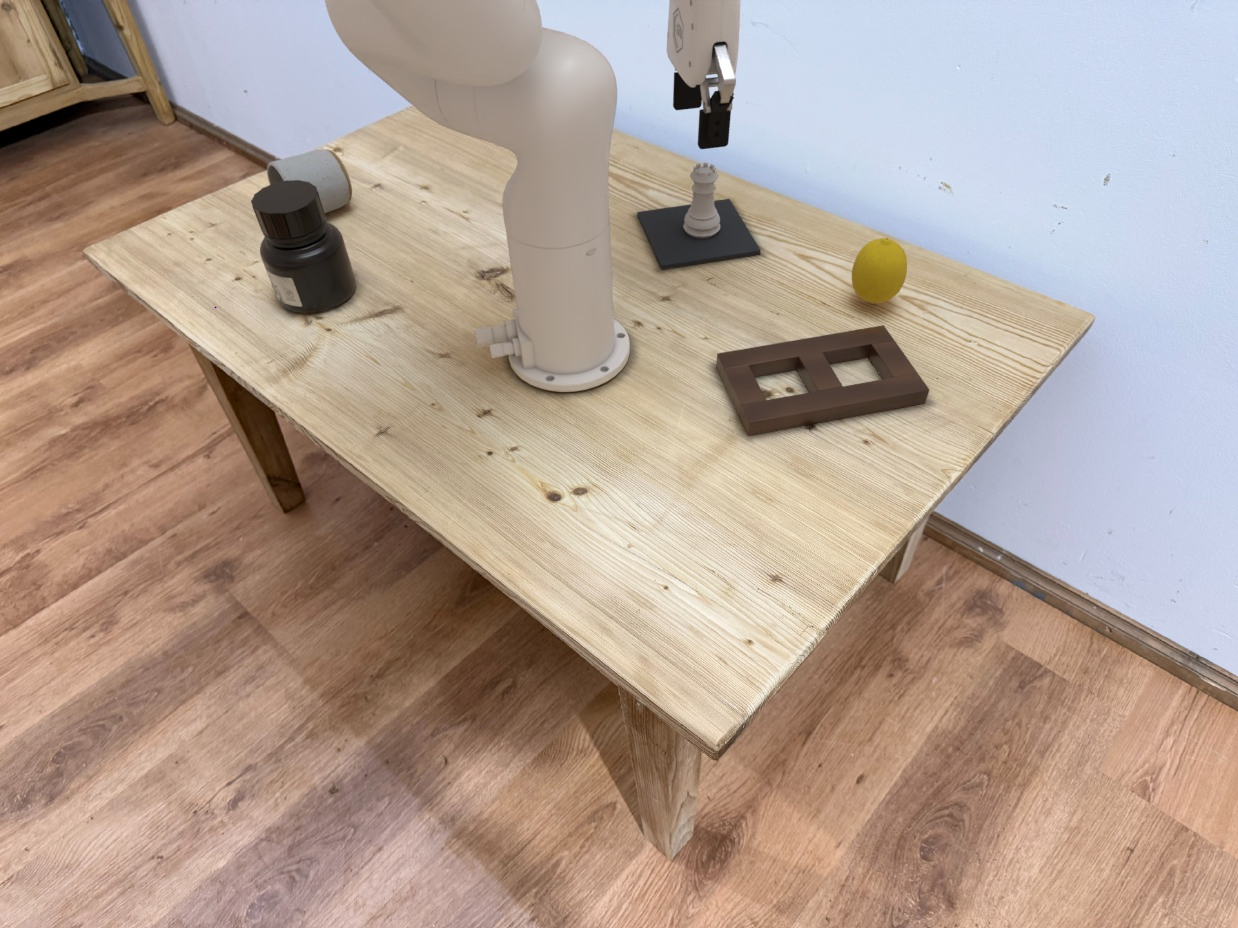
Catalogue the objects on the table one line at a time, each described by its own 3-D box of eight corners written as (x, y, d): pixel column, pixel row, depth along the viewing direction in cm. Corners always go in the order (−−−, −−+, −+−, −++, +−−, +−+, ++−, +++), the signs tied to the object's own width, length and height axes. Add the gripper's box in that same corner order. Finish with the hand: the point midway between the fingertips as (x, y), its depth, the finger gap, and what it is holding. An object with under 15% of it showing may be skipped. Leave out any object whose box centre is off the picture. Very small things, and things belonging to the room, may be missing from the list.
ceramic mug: (362, 210, 109) (346, 153, 103) (304, 234, 105) (283, 176, 100) (323, 181, 114) (306, 126, 109) (267, 203, 111) (246, 147, 105)
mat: (661, 270, 98) (661, 265, 98) (637, 216, 106) (637, 212, 106) (760, 254, 100) (760, 250, 99) (729, 202, 108) (729, 198, 107)
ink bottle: (276, 276, 99) (240, 181, 91) (352, 261, 101) (324, 167, 92) (280, 324, 93) (241, 228, 84) (361, 308, 95) (331, 211, 86)
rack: (925, 403, 82) (929, 389, 80) (747, 436, 79) (749, 422, 78) (880, 338, 88) (883, 324, 87) (715, 366, 86) (716, 353, 85)
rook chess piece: (678, 236, 102) (679, 174, 96) (689, 217, 104) (691, 156, 98) (714, 243, 100) (717, 180, 94) (724, 223, 103) (729, 161, 97)
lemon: (898, 321, 90) (915, 256, 85) (845, 315, 91) (858, 251, 85) (897, 290, 94) (913, 226, 88) (846, 285, 95) (859, 222, 89)
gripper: (648, -73, 85) (646, 98, 98) (696, -19, 74) (688, 167, 86) (719, -78, 86) (709, 91, 99) (778, -26, 75) (758, 159, 87)
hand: (699, 126), depth 92 cm, fingers open, 9 cm apart
